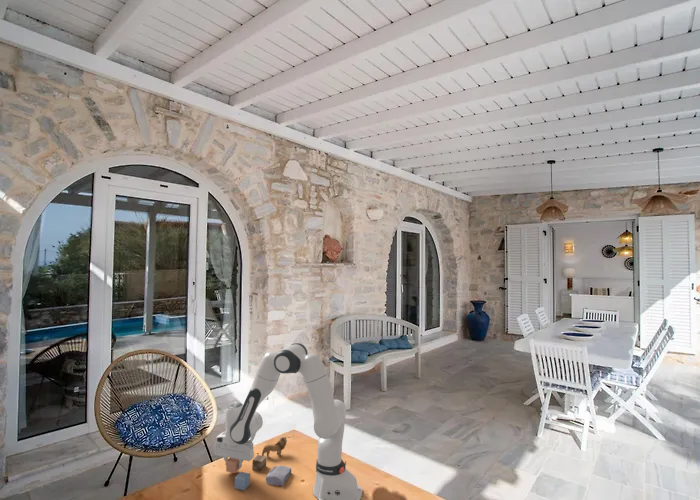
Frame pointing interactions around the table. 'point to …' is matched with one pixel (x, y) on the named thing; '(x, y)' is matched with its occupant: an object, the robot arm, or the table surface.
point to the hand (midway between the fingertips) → (233, 466)
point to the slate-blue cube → (242, 480)
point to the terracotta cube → (232, 465)
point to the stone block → (278, 475)
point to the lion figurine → (275, 447)
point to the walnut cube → (259, 463)
